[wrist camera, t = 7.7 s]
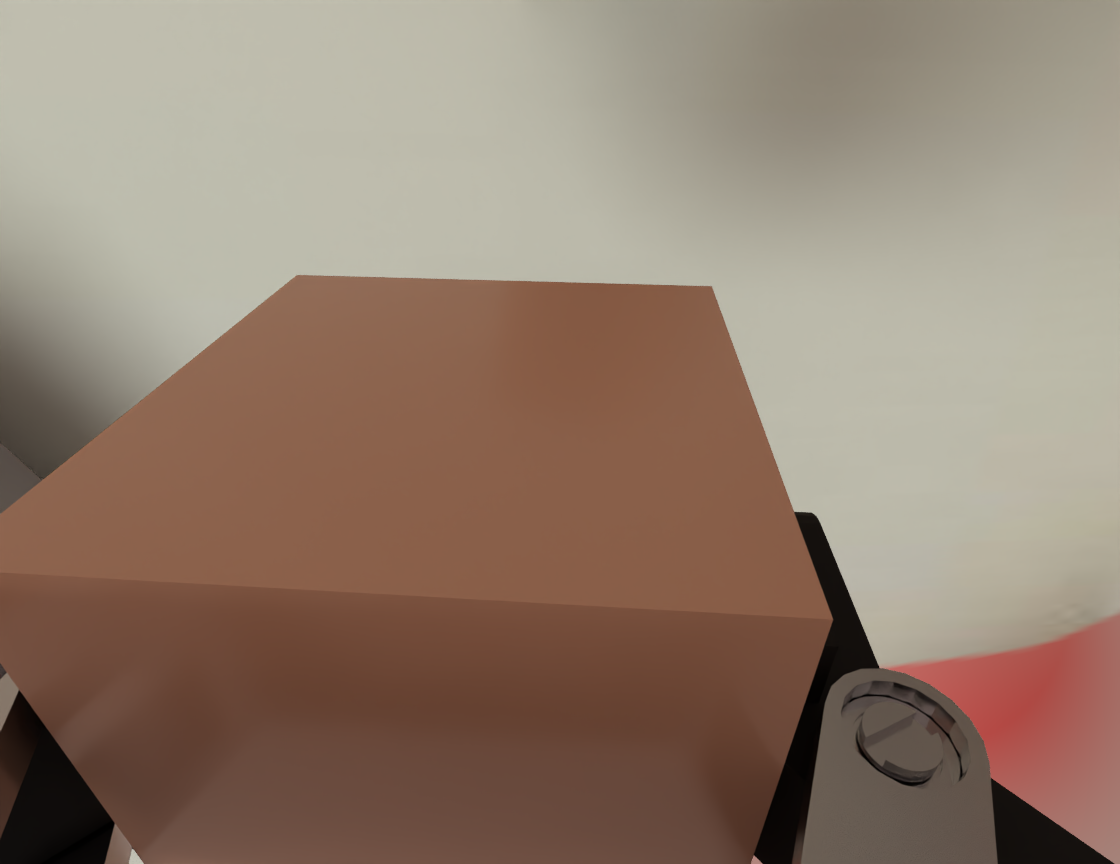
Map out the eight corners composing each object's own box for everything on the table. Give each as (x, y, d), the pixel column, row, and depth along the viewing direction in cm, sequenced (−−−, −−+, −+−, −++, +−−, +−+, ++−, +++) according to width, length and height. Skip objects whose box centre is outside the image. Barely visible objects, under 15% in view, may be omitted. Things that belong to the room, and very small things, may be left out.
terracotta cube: (711, 286, 9) (832, 620, 4) (670, 589, 12) (710, 984, 7) (296, 274, 9) (-67, 568, 4) (363, 571, 13) (196, 937, 8)
